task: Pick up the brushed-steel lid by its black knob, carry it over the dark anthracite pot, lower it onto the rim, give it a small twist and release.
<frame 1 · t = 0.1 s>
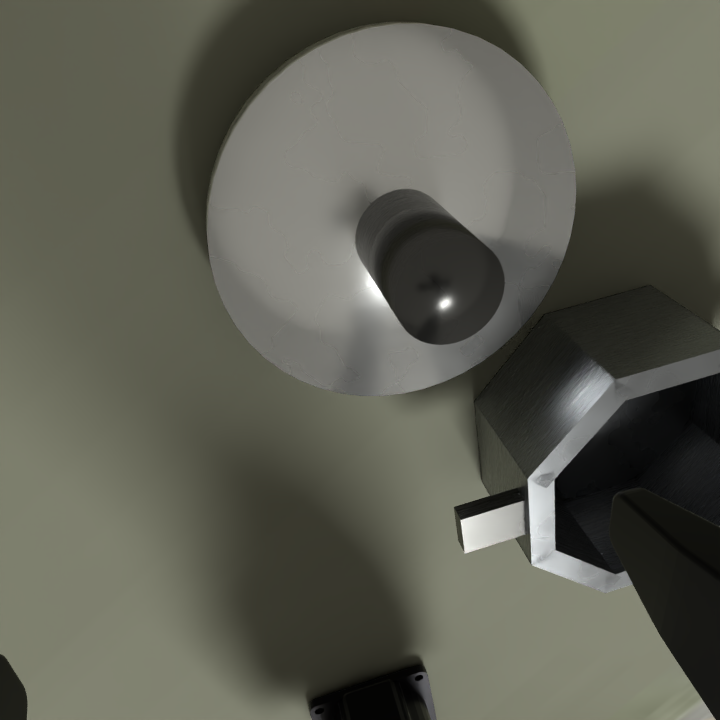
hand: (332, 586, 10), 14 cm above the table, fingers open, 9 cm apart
lid: (384, 216, 22), on the table
pot: (595, 408, 29), on the table
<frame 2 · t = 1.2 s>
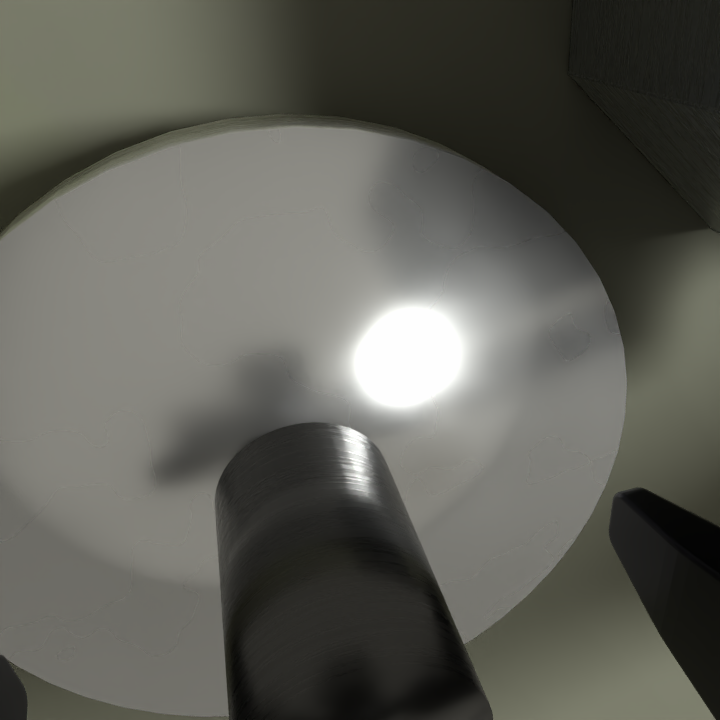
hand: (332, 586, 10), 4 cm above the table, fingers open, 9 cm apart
lid: (288, 427, 13), on the table
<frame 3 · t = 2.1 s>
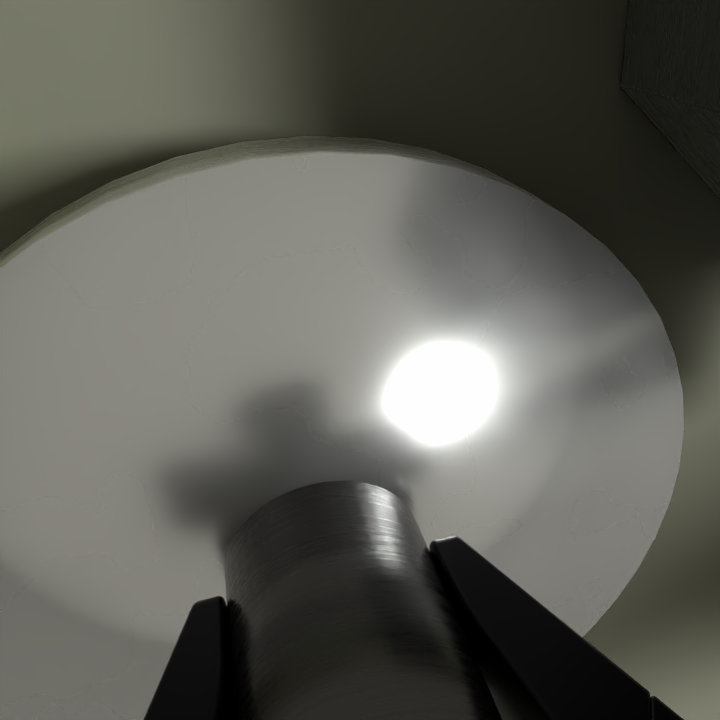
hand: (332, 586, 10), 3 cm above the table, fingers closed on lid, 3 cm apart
lid: (304, 474, 12), on the table, touching gripper
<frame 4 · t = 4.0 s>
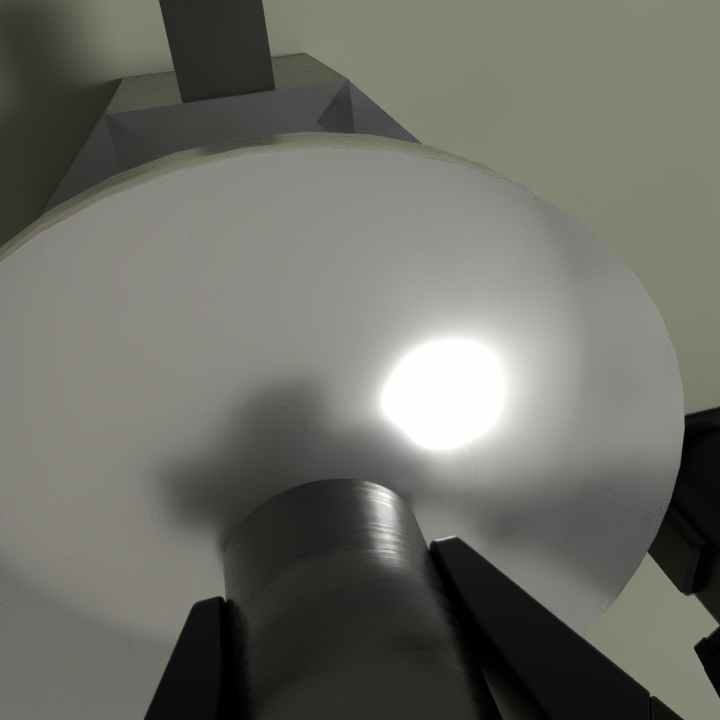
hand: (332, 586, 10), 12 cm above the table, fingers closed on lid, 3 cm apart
lid: (303, 472, 12), point 9 cm above the table, touching gripper
pot: (255, 267, 19), on the table
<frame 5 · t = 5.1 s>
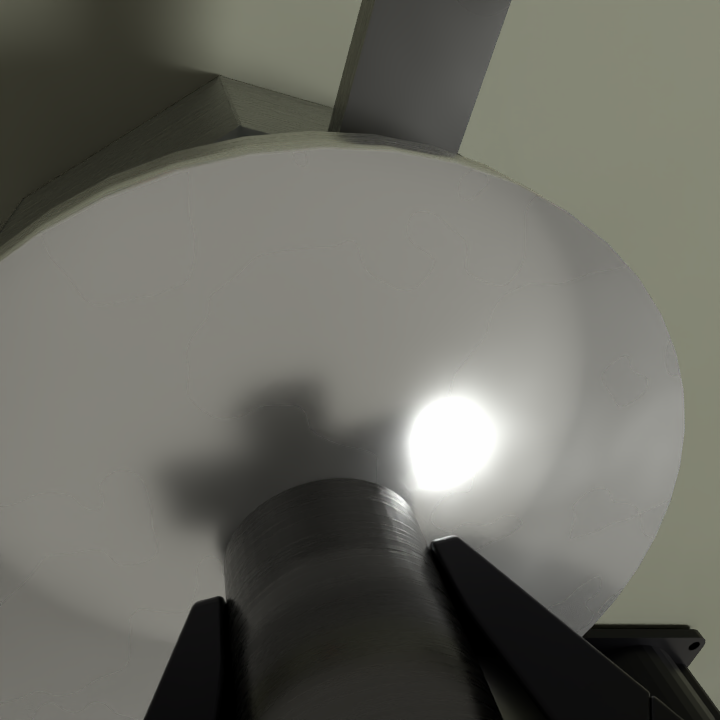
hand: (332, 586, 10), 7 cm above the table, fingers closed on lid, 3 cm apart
lid: (303, 472, 12), point 5 cm above the table, touching gripper
pot: (269, 341, 16), on the table
when the fingers open (7 cm above the table, at t = 5.8 s): lid stays where it is, resting on pot.
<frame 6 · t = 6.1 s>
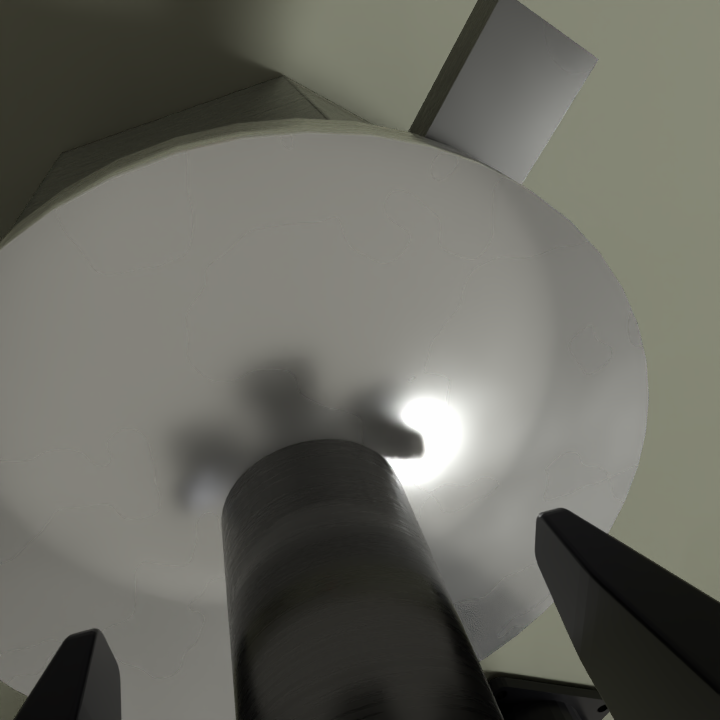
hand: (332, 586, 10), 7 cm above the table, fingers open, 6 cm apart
lid: (296, 440, 12), point 4 cm above the table, touching pot
pot: (271, 342, 16), on the table
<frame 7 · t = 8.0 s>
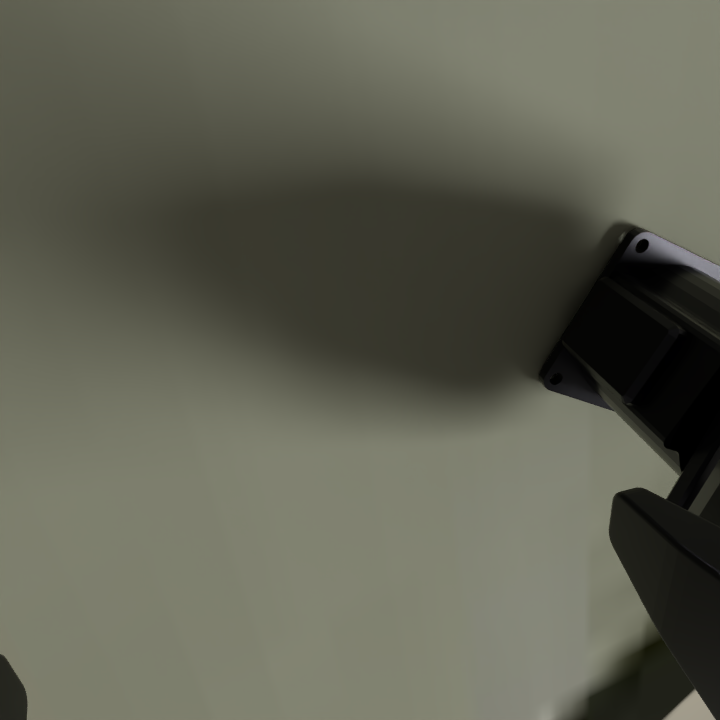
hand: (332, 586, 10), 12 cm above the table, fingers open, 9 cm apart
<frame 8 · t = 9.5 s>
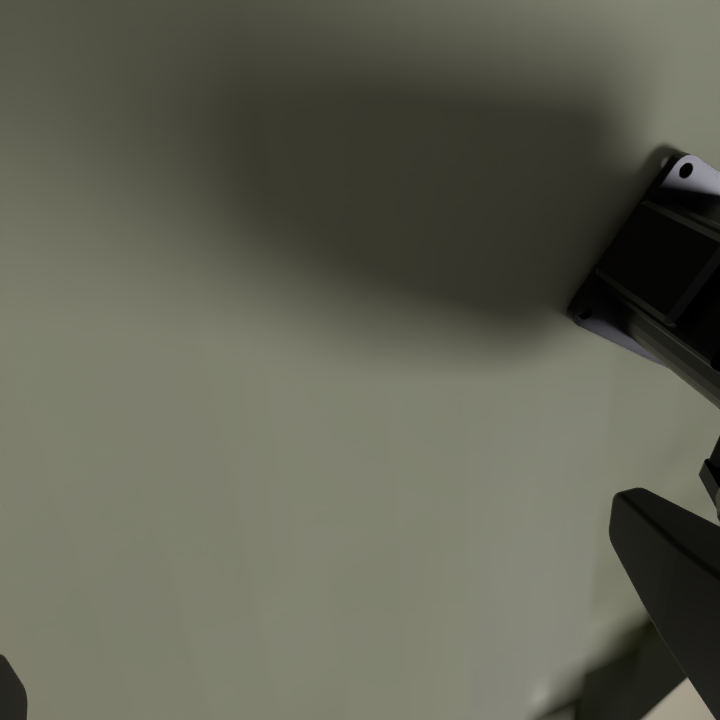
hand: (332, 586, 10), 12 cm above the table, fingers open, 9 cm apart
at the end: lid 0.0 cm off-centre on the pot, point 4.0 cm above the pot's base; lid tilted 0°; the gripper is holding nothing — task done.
